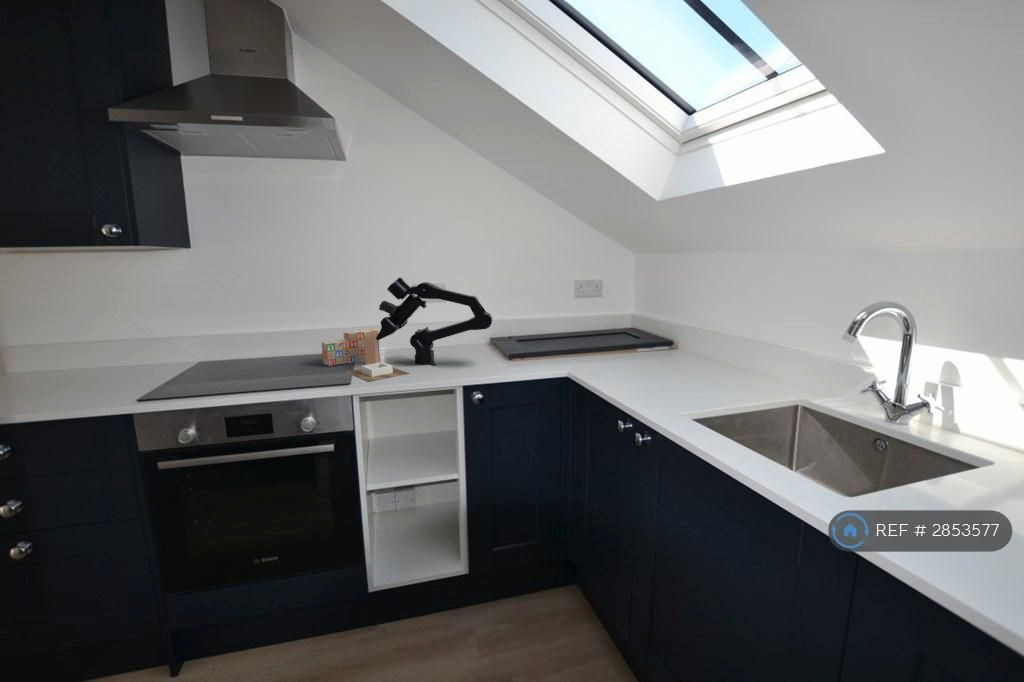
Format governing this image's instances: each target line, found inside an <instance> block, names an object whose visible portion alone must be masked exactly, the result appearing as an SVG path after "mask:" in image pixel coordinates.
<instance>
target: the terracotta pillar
mask: <svg viewBox="0 0 1024 682" xmlns="http://www.w3.org/2000/svg"><path fill="white" fill-rule="evenodd" d="M376 337H377V334H367V335H365V336H364V346H365V360H366V361H365V365H369V364H375V363H380V359H379V353H380V351H379V352H378V340H377V339H376Z"/></svg>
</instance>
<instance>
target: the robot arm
mask: <svg viewBox="0 0 1024 682" xmlns="http://www.w3.org/2000/svg"><path fill="white" fill-rule="evenodd" d="M386 290H387V291H388V292H389V293H390V294H391V295H392V296H393V297H395V298H396V300H398V301H399V300H401V301H402V302H401V303H400V304H399V305H396V304H394V303H391V302H389V301H386V300H382V301H381V303H379V307H378V310H379V311H381V312H382V311H383V312H385V313H387V314H388V316H385V317H384V318H382V319H381V320H380V326H381V327H380V330H379V331H378V335H377V337H376V339H377V340H379V341H380V340H382V339H384V338H386V337H389V336H392V335H394V334H395V333H396V332H397V331H398V330H400V329H402V328H404V327H405V326H406V325H407V324H408V321H409V319H410V318H411V317H412V316H413V315H414V313H416V312H417V310H418V309H419V308H420V307H421V308H422V309H425V308H427V300H441V301H446V302H450V303H455V304H459V305H463V306H467V307H469V309H470V310H471V313H472V314H473V317H470V318H469V319H467V320H466V319H465V320H463V321H461V322H457V323H454V324H453V323H452V324H450V325H446V326H443V327H440V328H437V329H429V326H427V327H425V328H422V329H417V330H416V331H415V332H414V334H413V335H411V336H410V338H409V344H410V346H412V348H414V350H415V354H414V364H415V365H420V366H433V367H434V365H435V366H436V365H437V363H436V362H435V353H434V352H435V350H434V349H433V347H434V345H435V344H434V342H435V341H438V340H441V339H444V338H447V337H452V336H455V335H458V334H461V333H465V332H467V331H468V332H469V331H479V330H481V331H482V330H487V329H489V328H490V327H491V325H492V323H493V316H492V315H491V313H489V312H487V311H486V309H485V308H484V306H483V305H482V304H481V303H480V301H479V299H478V297H477V296H475V295H470V294H465V293H460V292H457V291H456V292H455V291H452V290H447V289H443V288H442V287H439V286H437V285H436V284H435V285H434V284H432V283H430V282H428V281H424V282H421V283H418V285H415V286H414V285H412V286H410V285H409V284H408V283H406V281H405V280H404V279H403V277H401V276H400V277H398V278H397V279H395V280H394V281H393V282H392V283H391V284H389V286H388V287H387V289H386ZM423 299H427V300H423Z"/></svg>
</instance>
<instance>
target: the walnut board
mask: <svg viewBox="0 0 1024 682" xmlns="http://www.w3.org/2000/svg"><path fill="white" fill-rule="evenodd" d="M392 367H393V366H392ZM345 373H346V374H347V375H350V376H353V377H355V378H358V379H360V380H362V381H365V382H367V383H371V382H377V381H382V380H385V379H390V378H395V377H400V376H405V375H406V376H407V375H409V374H411V373H410V372H408V371H405V370H401V369H399V368H397V367H393V373H389V374H384V375H379V376H373V377H371V376H369V375H366V374H364V373H362V368H359V369H352V370H348V371H345Z"/></svg>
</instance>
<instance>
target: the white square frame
mask: <svg viewBox="0 0 1024 682" xmlns="http://www.w3.org/2000/svg"><path fill="white" fill-rule="evenodd" d="M361 369H362V373H364V374H366V375H369V376H371V377H373V376H379V375H384V374H389V373H393V365H390V364H389V363H385V362H381V361H379V363H375V364H369V365H366V364H364V365H361Z"/></svg>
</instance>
